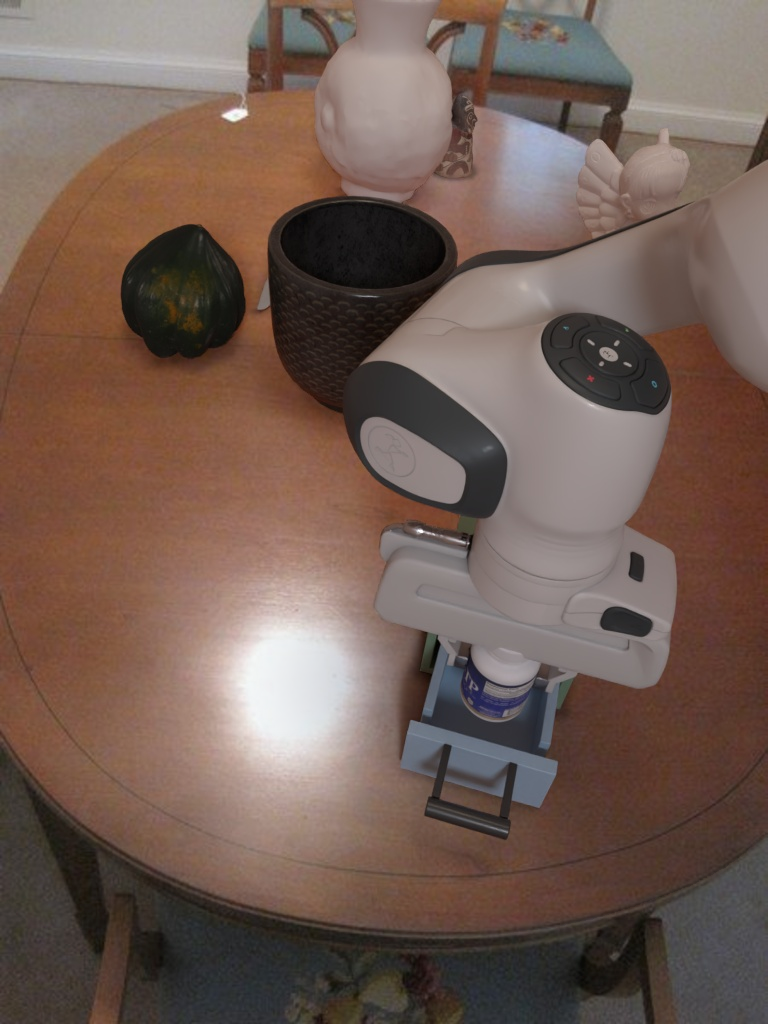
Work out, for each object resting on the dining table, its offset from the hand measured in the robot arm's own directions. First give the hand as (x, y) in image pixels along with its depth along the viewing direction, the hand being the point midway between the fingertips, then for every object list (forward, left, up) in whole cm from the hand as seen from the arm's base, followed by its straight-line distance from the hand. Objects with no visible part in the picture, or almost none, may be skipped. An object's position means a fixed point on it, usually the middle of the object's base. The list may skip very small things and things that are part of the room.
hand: (500, 671), depth 65 cm
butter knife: (+40, -63, -10) cm, 75 cm away
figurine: (+24, -101, -10) cm, 104 cm away
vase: (+33, -88, -10) cm, 94 cm away
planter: (+23, -41, -10) cm, 48 cm away
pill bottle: (0, 0, -4) cm, 4 cm away
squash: (+45, -43, -10) cm, 63 cm away
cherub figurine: (-5, -77, -10) cm, 77 cm away
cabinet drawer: (0, +2, -9) cm, 9 cm away
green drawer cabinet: (0, -12, -10) cm, 15 cm away
